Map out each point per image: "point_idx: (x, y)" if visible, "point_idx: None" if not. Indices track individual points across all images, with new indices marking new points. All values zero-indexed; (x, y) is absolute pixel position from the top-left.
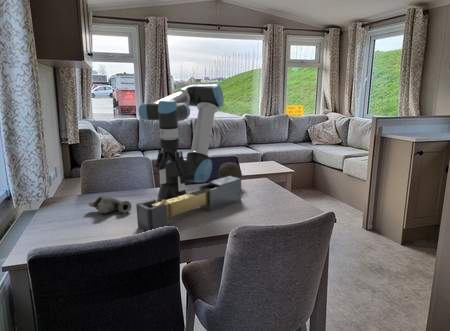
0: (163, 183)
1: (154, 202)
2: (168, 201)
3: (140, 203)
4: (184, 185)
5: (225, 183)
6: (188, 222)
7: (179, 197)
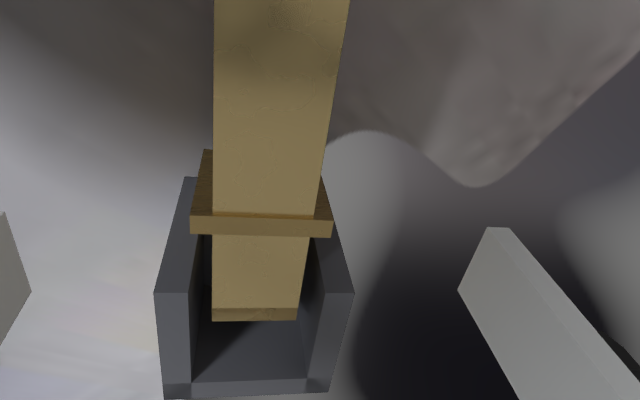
0: (17, 260)
1: (190, 288)
2: (261, 206)
3: (177, 383)
4: (545, 275)
5: None
6: (374, 46)
7: (252, 55)
